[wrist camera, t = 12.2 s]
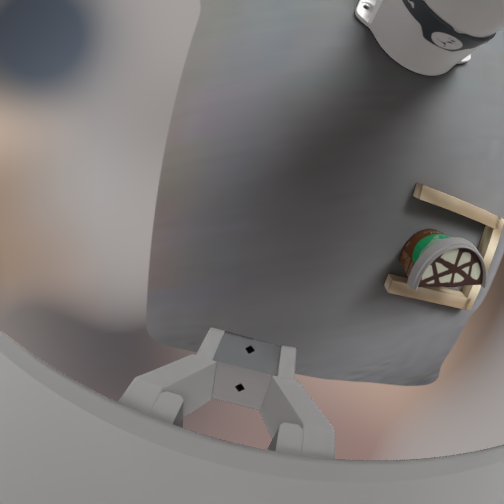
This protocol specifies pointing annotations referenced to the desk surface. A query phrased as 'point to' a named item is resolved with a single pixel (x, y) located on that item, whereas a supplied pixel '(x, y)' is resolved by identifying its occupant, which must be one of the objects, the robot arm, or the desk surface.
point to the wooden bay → (486, 249)
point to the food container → (441, 261)
